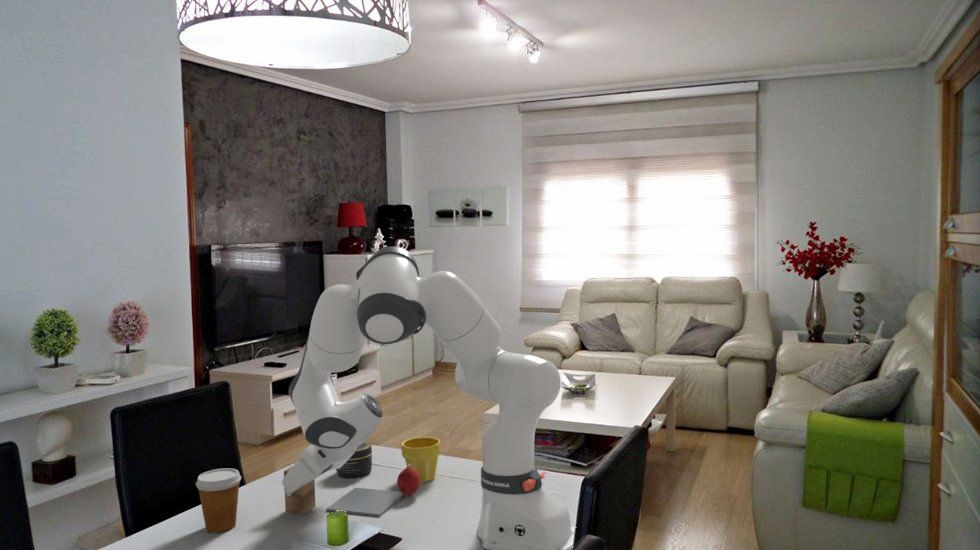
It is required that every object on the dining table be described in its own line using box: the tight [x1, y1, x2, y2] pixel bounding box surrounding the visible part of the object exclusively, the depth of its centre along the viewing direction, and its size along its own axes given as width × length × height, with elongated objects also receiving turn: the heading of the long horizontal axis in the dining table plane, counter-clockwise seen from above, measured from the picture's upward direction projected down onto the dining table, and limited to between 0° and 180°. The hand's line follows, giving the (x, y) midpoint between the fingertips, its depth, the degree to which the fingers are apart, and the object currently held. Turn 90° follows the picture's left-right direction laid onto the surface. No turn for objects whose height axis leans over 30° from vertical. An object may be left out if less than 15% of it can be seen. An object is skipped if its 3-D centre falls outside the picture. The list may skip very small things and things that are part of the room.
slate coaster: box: [325, 487, 405, 518], centre depth 167 cm, size 14×14×1 cm
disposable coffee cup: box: [195, 467, 242, 533], centre depth 154 cm, size 10×10×12 cm
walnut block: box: [283, 465, 317, 516], centre depth 163 cm, size 5×5×10 cm
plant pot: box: [401, 436, 442, 483], centre depth 183 cm, size 10×10×10 cm
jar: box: [335, 441, 373, 480], centre depth 188 cm, size 10×10×8 cm
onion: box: [396, 464, 422, 497], centre depth 170 cm, size 6×6×8 cm
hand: (297, 487), depth 163 cm, fingers open, 6 cm apart
